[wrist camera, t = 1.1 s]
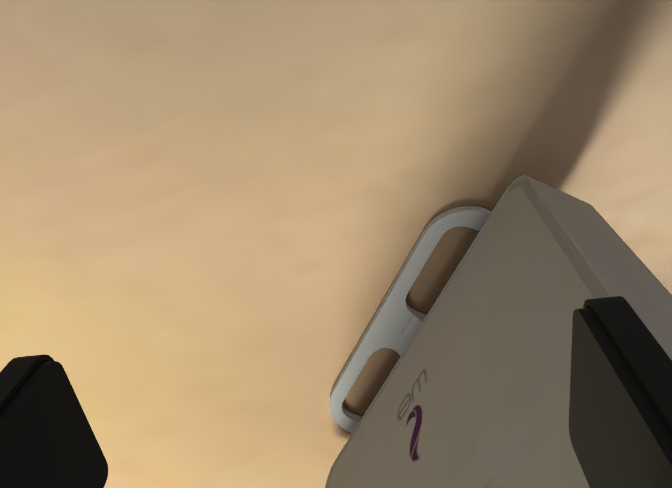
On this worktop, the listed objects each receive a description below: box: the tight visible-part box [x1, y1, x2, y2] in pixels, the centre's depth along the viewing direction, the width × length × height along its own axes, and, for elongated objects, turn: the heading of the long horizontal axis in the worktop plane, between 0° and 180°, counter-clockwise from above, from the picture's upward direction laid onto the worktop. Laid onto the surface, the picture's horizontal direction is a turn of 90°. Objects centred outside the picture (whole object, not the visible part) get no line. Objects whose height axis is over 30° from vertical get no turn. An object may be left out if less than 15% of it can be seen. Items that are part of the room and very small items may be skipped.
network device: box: [325, 175, 672, 488], centre depth 28 cm, size 26×9×20 cm, turn 156°
